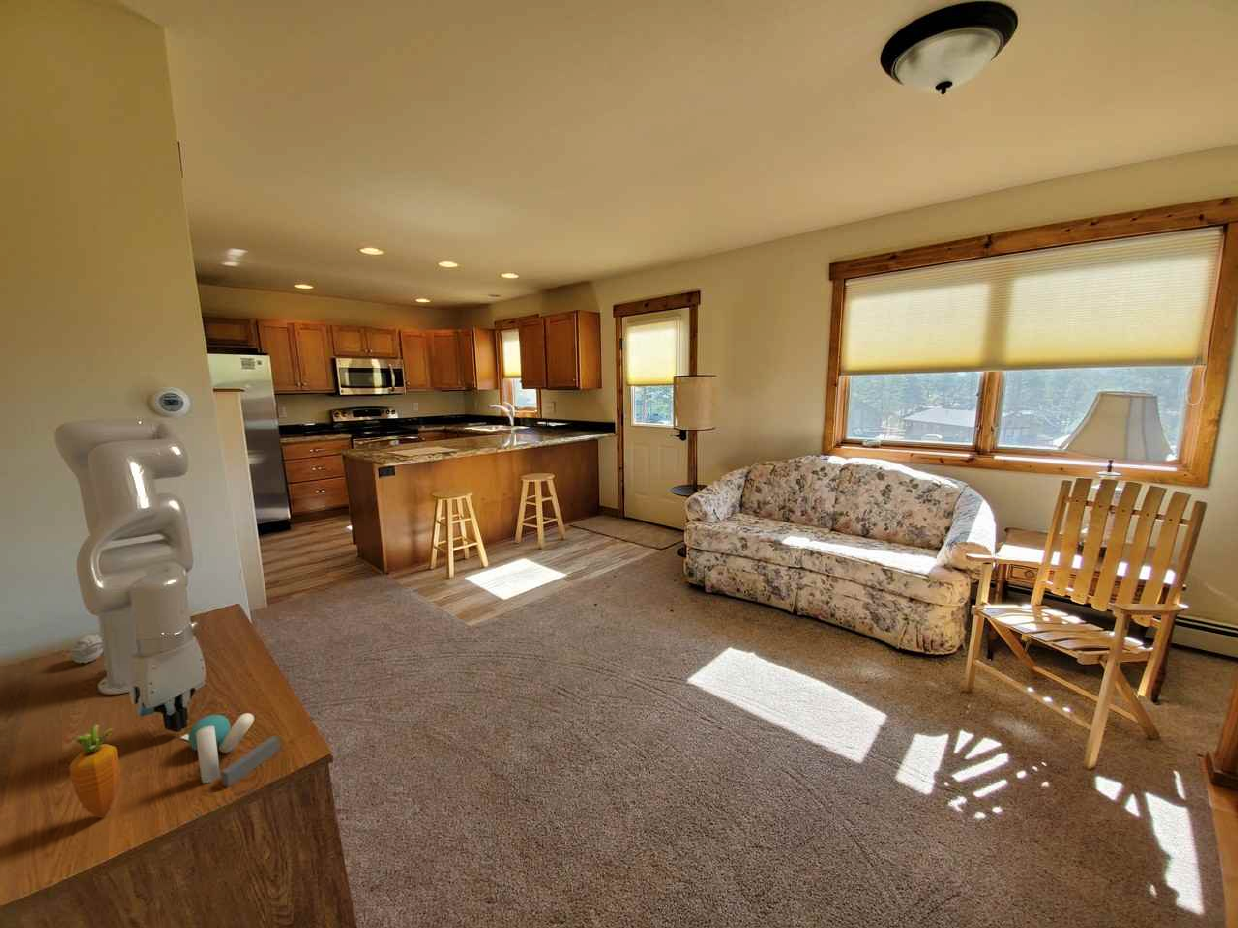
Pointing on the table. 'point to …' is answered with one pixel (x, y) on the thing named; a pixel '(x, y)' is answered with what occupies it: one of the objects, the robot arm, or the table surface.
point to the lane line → (185, 737)
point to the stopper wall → (250, 761)
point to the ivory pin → (236, 733)
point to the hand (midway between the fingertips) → (177, 727)
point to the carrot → (95, 773)
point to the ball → (220, 727)
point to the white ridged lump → (86, 649)
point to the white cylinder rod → (208, 754)
